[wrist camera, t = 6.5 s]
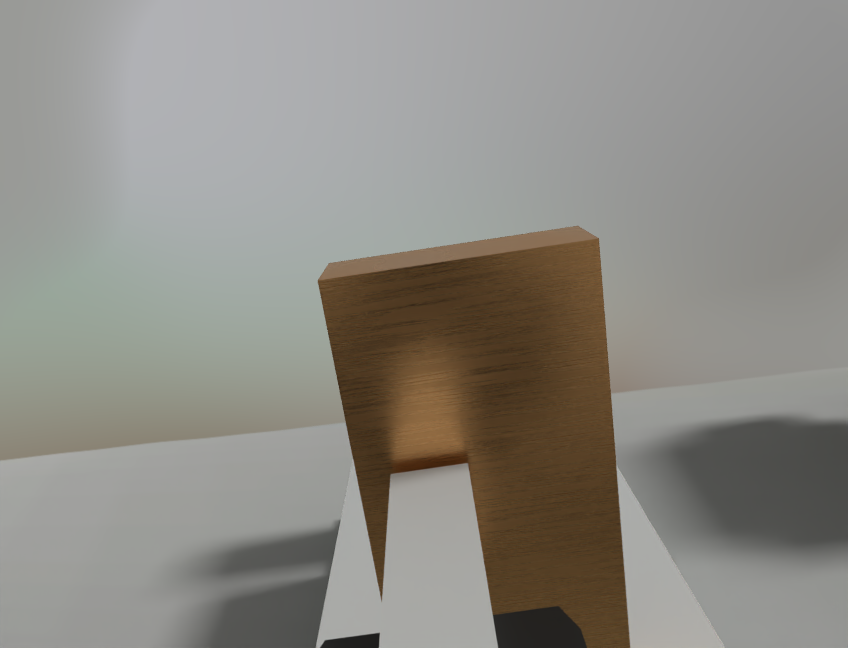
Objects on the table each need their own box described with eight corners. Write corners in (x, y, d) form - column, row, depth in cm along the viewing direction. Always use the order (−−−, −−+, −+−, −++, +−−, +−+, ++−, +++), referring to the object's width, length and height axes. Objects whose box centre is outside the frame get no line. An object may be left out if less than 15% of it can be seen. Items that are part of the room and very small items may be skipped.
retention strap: (634, 693, 14) (598, 238, 12) (405, 722, 15) (317, 280, 12) (529, 420, 28) (501, 180, 25) (411, 437, 28) (370, 200, 25)
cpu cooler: (940, 1181, 12) (982, 797, 9) (265, 1251, 12) (133, 899, 10) (593, 483, 35) (578, 320, 32) (365, 515, 35) (333, 356, 33)
